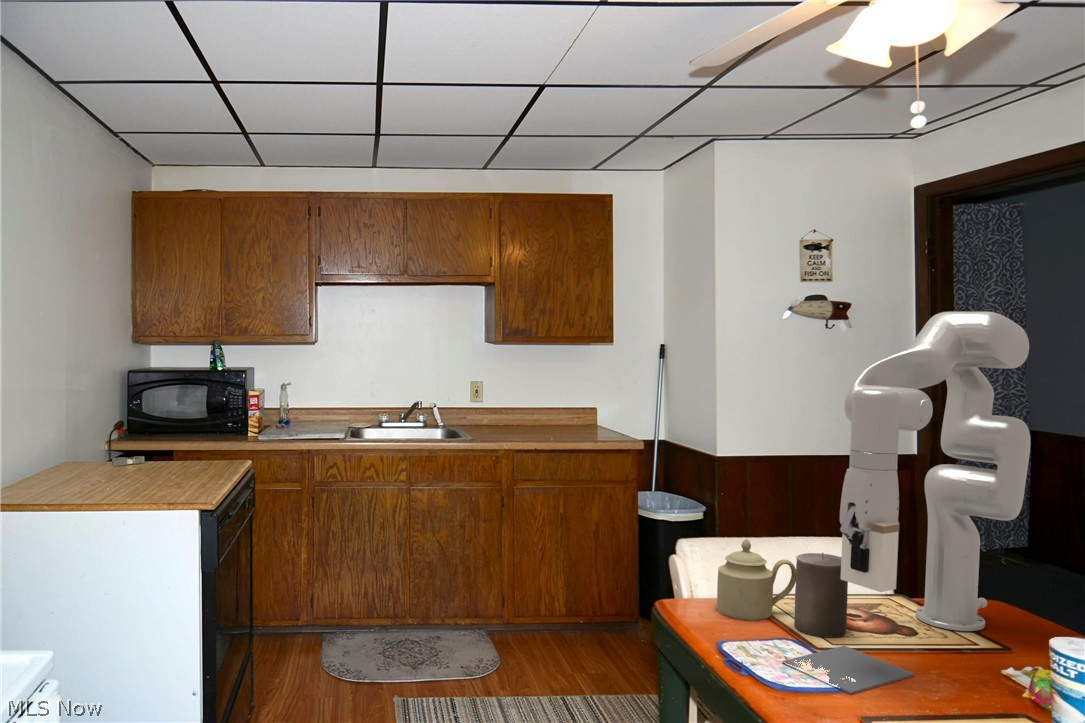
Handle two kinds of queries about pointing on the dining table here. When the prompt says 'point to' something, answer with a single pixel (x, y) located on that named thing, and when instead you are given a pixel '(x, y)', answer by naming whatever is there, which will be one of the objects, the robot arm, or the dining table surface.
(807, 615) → the pillar candle
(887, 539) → the slab
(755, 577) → the sugar bowl
